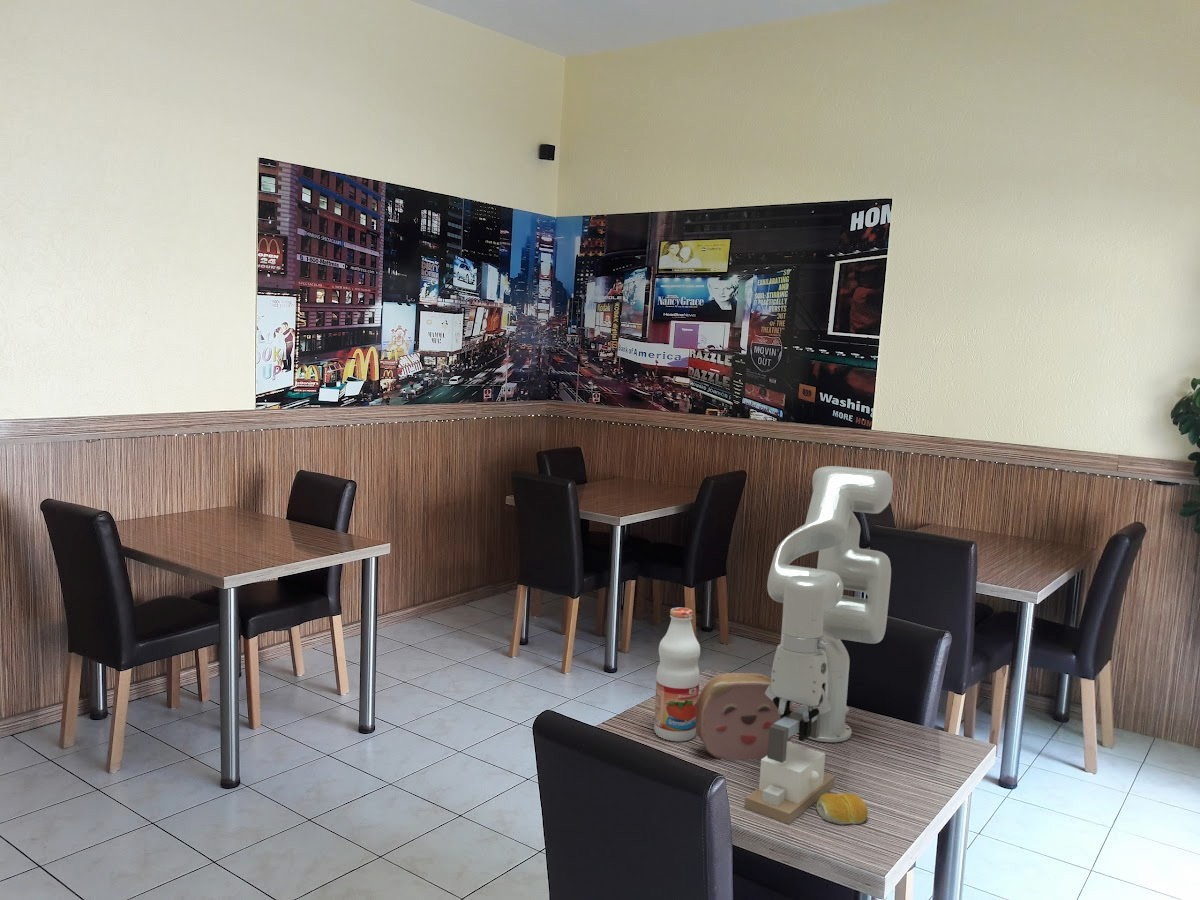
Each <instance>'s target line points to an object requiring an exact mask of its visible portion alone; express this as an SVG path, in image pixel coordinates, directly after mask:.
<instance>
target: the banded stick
mask: <svg viewBox="0 0 1200 900" xmlns="http://www.w3.org/2000/svg"><path fill="white" fill-rule="evenodd" d="M816 707H820V706H816ZM816 707H815V708H816ZM802 717H803V708H802V705H800V706H799V707H798V708H796V709H793V712H792V713H790V714H788V715H787V716H785V717H783V718H782V719H780V720H779V721H777V722H775V723H774V724H773V725H771V726H769V740H768V756H767V758H769V759H772V760H775V761H778V762H781V763H783V762H784V761H785V760H786V751H787V739H789V738H790V737H792V736H793V737H794V736H795V735H796V734H798V733H797V732H799V730H800V721H801V720H802ZM820 717H821V714H819V715H817V716H815V717H814V718H812V725H811V734H810V736H809V737H812V738H817V737H819V731H820ZM793 737H792V738H793Z"/></svg>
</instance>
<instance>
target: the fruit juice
mask: <svg viewBox="0 0 1200 900" xmlns="http://www.w3.org/2000/svg"><path fill="white" fill-rule="evenodd" d="M693 614H694V613H693V610H692V609H691V608H688V607H682V606H681V607H679V606H678V607H677V606H676V607H672V608H671V609H670V612H669V617H670V623H669V626H668V628H667V631H666V633H665V635H664V636H663V637H662V639H660V642H659V645H658V656H659V664H658V666H657V670H656V678H655V679H656V680H655V681H656V683H655V686H656V687H655V699H654V703H655V704H654V718H653V719H654V721H653V722H654V724H653V731H654V733H656V734H655V735H656V736H657V735H658V736H657V737H659V738H660V737H661V738H660V739H662V738H663V739H662V740H665V739H666V740H665V741H669V740H670V741H669V742H687V741H690V740H692V739H694V738H695V737H696V736H697V734H696V716H697V703H698V698H699V695H700V693H699V692H700V678H701V677H700V669H699V665H698V664H699V663H698V662H699V659H700V656H701V645H700V643H699V641H698V639H697V637H696V634H695V632H694V629H693V624H692V619H693Z"/></svg>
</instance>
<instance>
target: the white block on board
mask: <svg viewBox="0 0 1200 900" xmlns="http://www.w3.org/2000/svg"><path fill="white" fill-rule="evenodd" d="M767 756H768V755H767ZM767 756H766V757H764V758H763V759H760V767H759V768H760V771H759V784H758V785H759V786H758V788H756V789H755V790H754V791H752V792H750V793H749V794H748V795H746V797H744V798H745V799H744V809H746V810H749V811H753V812H755V813H757V814H760V815H763V816H764V817H765V816H766V817H768V818H771V819H774V820H776V821H779V822H781V823H784V824H786V825H790V824H791V823H792V822H793V821H795V820H796V819H797V818H798V817H799V816H800V815H802V814H803V813H804V812H806V811H807V810H808V809H809V808H810V807H811V806H812V805H814V804H815V803H817V802H818V799H819V797H821V796H822V795H823V794H825V793H829V791H830V790H831V789H833V787H835V784H836V783H835V780H836V776H835V775H832V774H830V773H826V772H825V762H826V753H824V752H821V751H817V750H816V749H812V748H809V747H805V746H802V745H800V744H796V743H792V742H790V741H788V742H787V751H786V760H785V761H784V762H783V763H781V762H778V761H775V760H772V759H769V758H767Z"/></svg>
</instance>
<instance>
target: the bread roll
mask: <svg viewBox="0 0 1200 900" xmlns="http://www.w3.org/2000/svg"><path fill="white" fill-rule="evenodd" d="M816 811H817V812H818V815H819V816H820V817H821V818H822V819H824V820H825V821H826V822H829V823H832V822H833V824H836V823H837V825H850V824H852V825H860V824H863V823H864V822H865V821H866V820H867V817H868V807H867V804H866V803H865V801H864V800H863V799H862V798H861V797H859V796H858V795H856V794H854V793H847V792H846V793H845V792H840V793H837V794H836V793H832V792H831V793H830V792H827V793H825V794H823V795H822V796H821V797H819V799H818V800H817V802H816Z"/></svg>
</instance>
